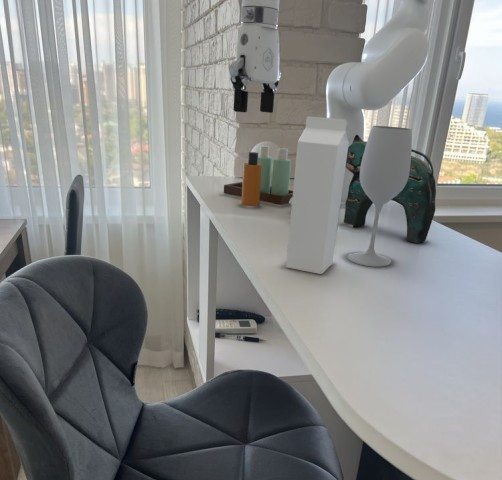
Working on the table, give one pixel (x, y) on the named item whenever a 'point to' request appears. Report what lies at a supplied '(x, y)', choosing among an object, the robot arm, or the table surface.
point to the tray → (266, 197)
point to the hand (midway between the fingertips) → (253, 112)
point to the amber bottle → (251, 180)
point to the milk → (317, 194)
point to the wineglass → (383, 178)
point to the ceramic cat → (411, 197)
